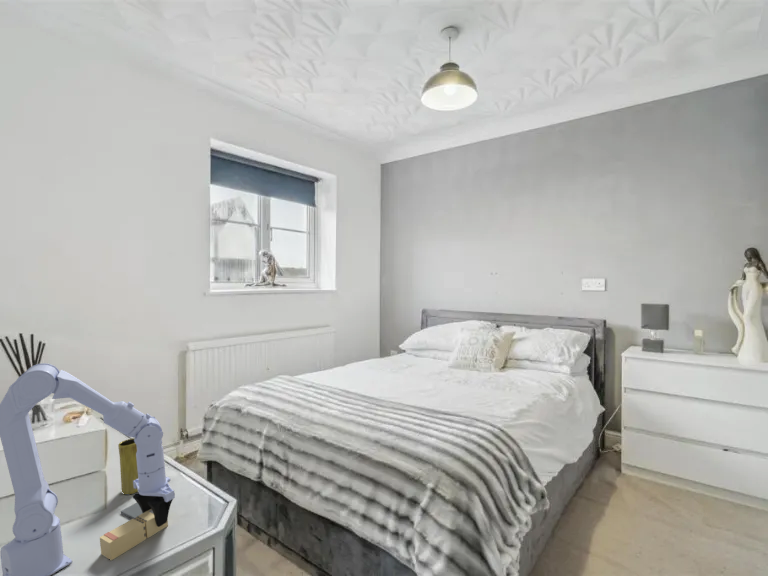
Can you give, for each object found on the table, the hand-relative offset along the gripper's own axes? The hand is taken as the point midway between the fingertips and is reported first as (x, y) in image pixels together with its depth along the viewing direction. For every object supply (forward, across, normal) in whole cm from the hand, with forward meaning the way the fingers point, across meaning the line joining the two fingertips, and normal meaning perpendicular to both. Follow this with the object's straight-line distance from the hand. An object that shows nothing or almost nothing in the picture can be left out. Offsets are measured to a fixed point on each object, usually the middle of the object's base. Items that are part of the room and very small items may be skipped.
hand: (156, 521), depth 96 cm
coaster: (+1, +12, -2) cm, 12 cm away
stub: (+1, 0, +1) cm, 2 cm away
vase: (+2, +24, -7) cm, 26 cm away
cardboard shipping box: (+1, 0, +8) cm, 8 cm away
